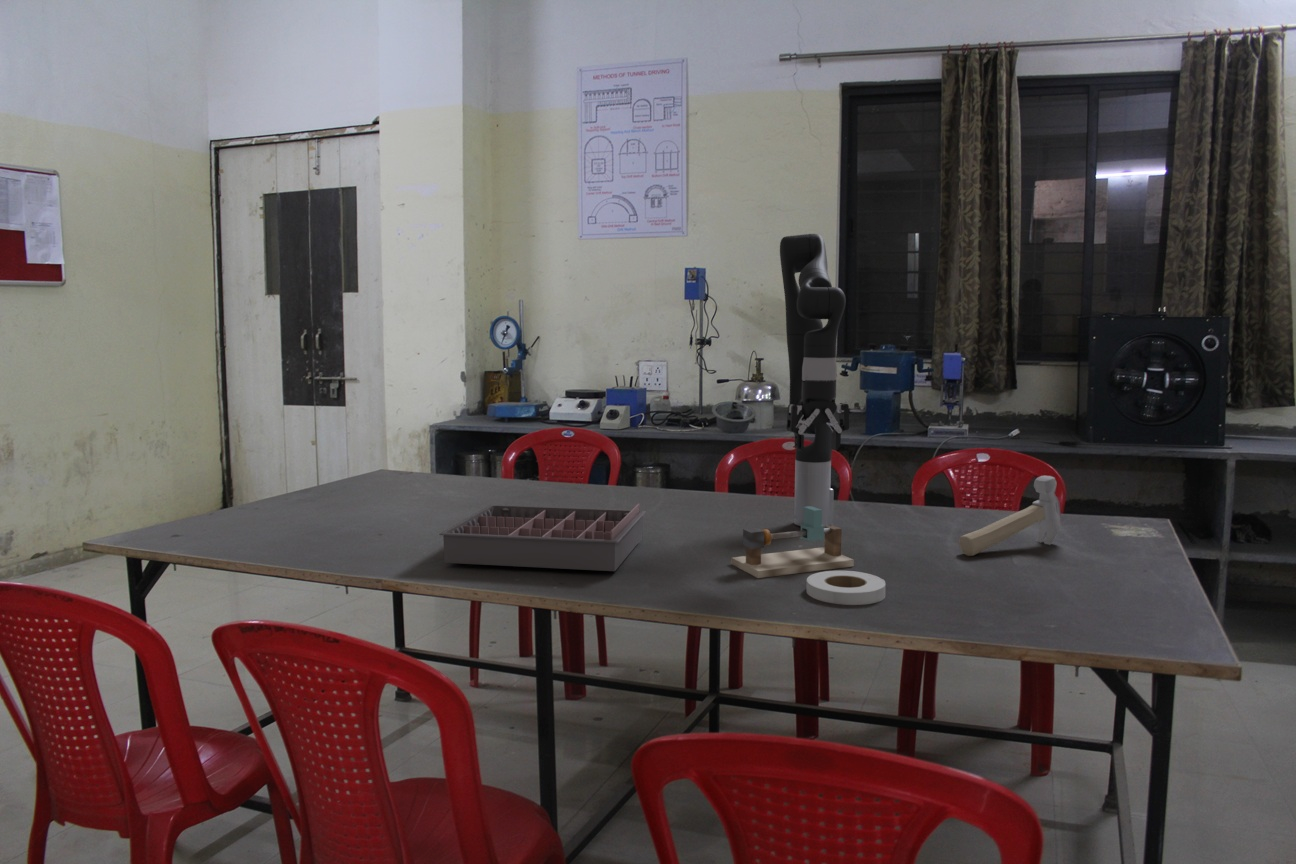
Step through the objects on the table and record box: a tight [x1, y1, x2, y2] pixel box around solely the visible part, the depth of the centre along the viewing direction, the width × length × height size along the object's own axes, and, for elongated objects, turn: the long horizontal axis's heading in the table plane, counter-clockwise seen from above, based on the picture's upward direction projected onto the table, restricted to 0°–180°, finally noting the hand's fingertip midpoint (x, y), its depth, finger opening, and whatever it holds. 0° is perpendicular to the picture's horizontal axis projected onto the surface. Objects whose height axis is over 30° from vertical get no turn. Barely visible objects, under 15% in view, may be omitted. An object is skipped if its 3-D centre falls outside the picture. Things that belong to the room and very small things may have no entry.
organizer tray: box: [439, 503, 647, 572], centre depth 216 cm, size 32×40×10 cm
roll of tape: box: [805, 570, 887, 606], centre depth 186 cm, size 16×15×3 cm
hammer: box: [958, 475, 1062, 557], centre depth 221 cm, size 16×5×30 cm
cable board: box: [730, 524, 855, 579], centre depth 206 cm, size 24×12×9 cm, turn 113°
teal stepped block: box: [800, 506, 825, 542], centre depth 208 cm, size 4×4×7 cm
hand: (817, 450), depth 210 cm, fingers open, 8 cm apart
